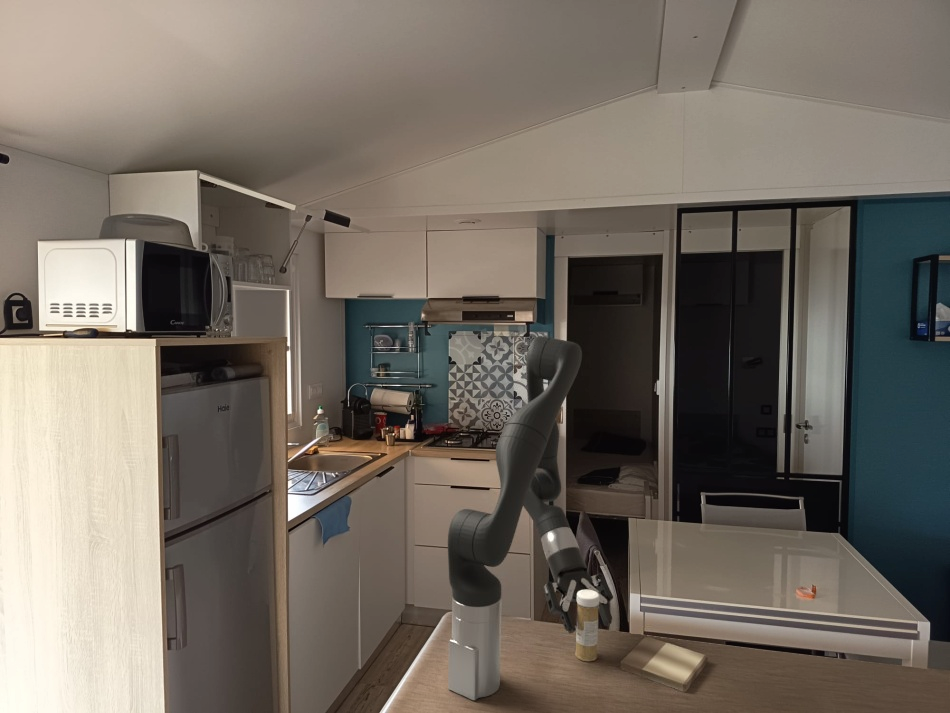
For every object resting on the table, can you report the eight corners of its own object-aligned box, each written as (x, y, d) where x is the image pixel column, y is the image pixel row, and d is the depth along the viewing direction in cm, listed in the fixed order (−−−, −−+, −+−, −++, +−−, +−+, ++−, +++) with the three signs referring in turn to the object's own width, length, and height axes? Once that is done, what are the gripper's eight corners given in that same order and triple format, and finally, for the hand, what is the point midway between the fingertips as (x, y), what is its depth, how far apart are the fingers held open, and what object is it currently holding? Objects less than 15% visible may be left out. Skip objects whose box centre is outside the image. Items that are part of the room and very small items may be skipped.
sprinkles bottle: (572, 651, 137) (574, 588, 136) (594, 650, 138) (595, 588, 137) (578, 663, 133) (580, 598, 132) (600, 662, 133) (602, 597, 132)
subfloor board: (685, 692, 123) (685, 684, 123) (620, 669, 131) (620, 661, 131) (707, 663, 133) (707, 655, 133) (646, 642, 141) (646, 635, 141)
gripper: (540, 550, 138) (567, 628, 128) (597, 541, 143) (628, 615, 134) (528, 565, 143) (553, 641, 133) (583, 556, 148) (612, 628, 139)
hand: (590, 628), depth 133 cm, fingers open, 8 cm apart
